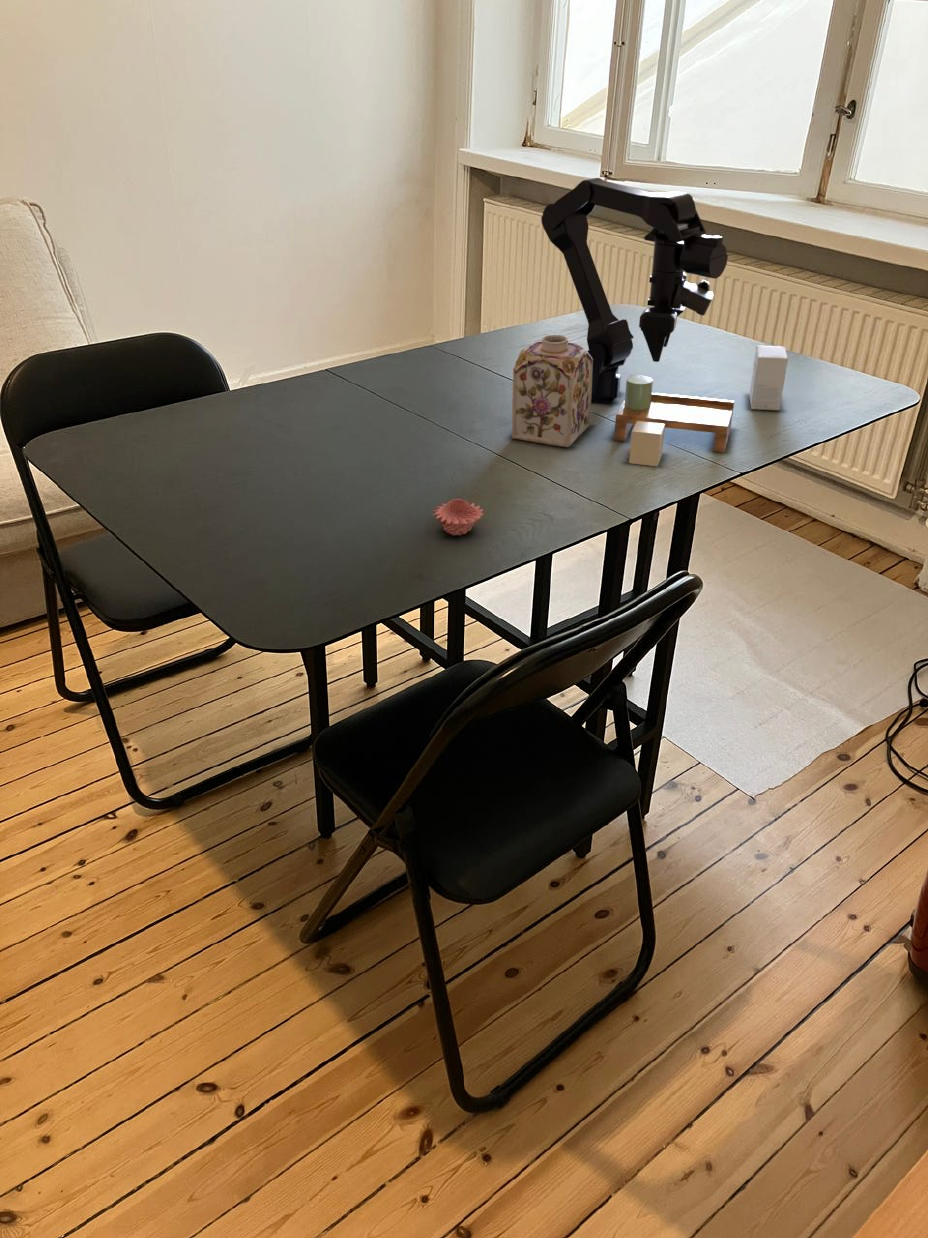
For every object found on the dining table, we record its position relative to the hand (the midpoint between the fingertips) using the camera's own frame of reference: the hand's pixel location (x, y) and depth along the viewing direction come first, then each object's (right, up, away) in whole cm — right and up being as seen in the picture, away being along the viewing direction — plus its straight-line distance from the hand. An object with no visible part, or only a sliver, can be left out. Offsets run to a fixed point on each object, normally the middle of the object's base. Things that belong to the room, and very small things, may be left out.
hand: (660, 353), depth 189 cm
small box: (+23, -7, +11) cm, 26 cm away
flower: (-38, -37, -34) cm, 63 cm away
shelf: (+2, -16, -2) cm, 16 cm away
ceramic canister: (-5, -11, -3) cm, 12 cm away
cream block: (-5, -22, -11) cm, 25 cm away
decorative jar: (-21, -15, -1) cm, 26 cm away
